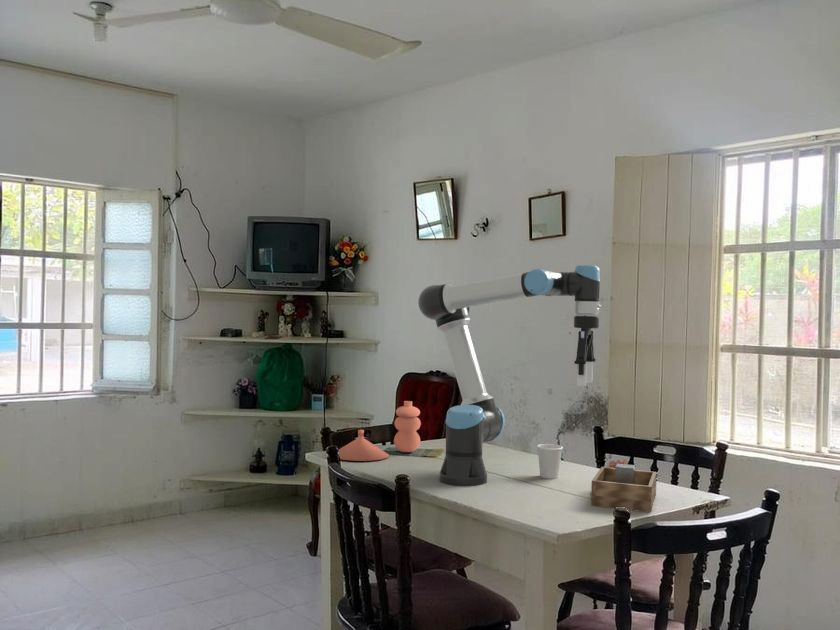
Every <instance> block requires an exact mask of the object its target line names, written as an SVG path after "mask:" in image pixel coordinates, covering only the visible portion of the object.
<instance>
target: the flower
mask: <svg viewBox="0 0 840 630" xmlns="http://www.w3.org/2000/svg"><path fill="white" fill-rule="evenodd" d="M617 464H627V465H628V461H627V459H622V460H620V459H617V460H612V461H609V462H608V465H607V466H606V467H609V468H615V467H616V465H617Z"/></svg>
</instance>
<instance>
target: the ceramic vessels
mask: <svg viewBox="0 0 840 630" xmlns="http://www.w3.org/2000/svg"><path fill="white" fill-rule="evenodd" d="M395 414H396V416H398V417H396V418H395V420H394V427H395V429H396V430H397V432H396V434H395V436H394V437H393V438H394V439H393V444H394V446H395V448H396V449H397V450H398V451H400V452H402V453H413V452H415V451H416V450H418V448H419V447H420V444H421V437H420V435H419V433H418V432H417V431H418V430H419V429H420V427H421V425H422V422H421V419H420V418H419V416H420V414H421V411H420V409H419V408H418V407H416V406H413V401H412V400H411V401H410V400H404V401H403V405H402V406H399V407H397V409H396V410H395ZM364 433H365V430H364V429H358V430H357V438H355V439H354V440H352V441H351V442H349V443H348V444H346V445H344V446H342V447H340V448H339V449H338V450H339V456H340V459H339V460H344V461H355V462H358V461H359V462H362V461H363V462H367V461H368V462H370V461H372V462H373V461H380V460H384V459H387V458H389V457H390V455H389V453H387V452H386V451H384V450H383V449H381V448H379V447H378V446H376V445H375V444H373V443H372V442H370V441H369V440H367V439H365V438H364V435H365V434H364Z"/></svg>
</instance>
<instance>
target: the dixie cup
mask: <svg viewBox="0 0 840 630" xmlns="http://www.w3.org/2000/svg"><path fill="white" fill-rule="evenodd" d="M536 447H537V455H538V465H539V466H538V468H539V477H540V478H542V479H549V480H551V479H553V480H554V479H558V478H559V472H560V465H561V459H562V458H561V457H562V451H563V449H564V447H563V446H562V445H560V444H559V445H558V444H554V443H540V444H537V445H536Z"/></svg>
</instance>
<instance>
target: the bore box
mask: <svg viewBox="0 0 840 630" xmlns="http://www.w3.org/2000/svg"><path fill="white" fill-rule="evenodd" d="M657 474H658V473H657V471H647V470H639V469H635V484H625V483H616V482H615V468H609V467H607V466H601V467H600V469H599V470H598V471H597V473H596V474H595V475H594V477H593V478H592V479H591V488H590V489H591V492H590V493H591V494H590V495H591V498H590V506H591V507H601V508H608V507H610V508H609V509H617V508H616V507H625V508H627V509H631V510H630V511H636V510H638V511H639V512H646V511H648V512H647V513H649V512H650V513H651V512H652V511H653V507H654V504H655V500H656V497H655V496H657V478H658V477H657ZM653 503H654V504H653ZM627 509H626V510H627ZM651 510H652V511H651Z"/></svg>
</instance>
